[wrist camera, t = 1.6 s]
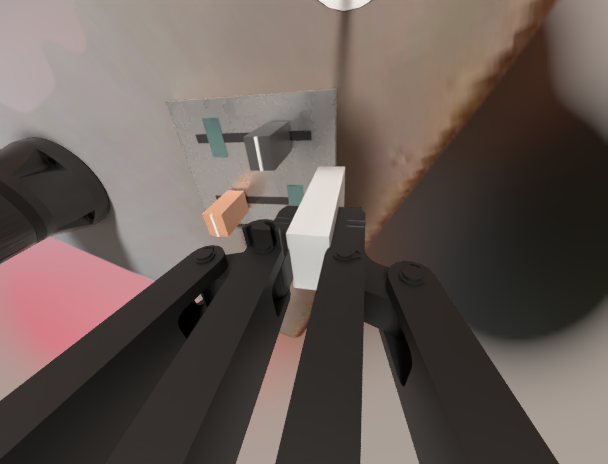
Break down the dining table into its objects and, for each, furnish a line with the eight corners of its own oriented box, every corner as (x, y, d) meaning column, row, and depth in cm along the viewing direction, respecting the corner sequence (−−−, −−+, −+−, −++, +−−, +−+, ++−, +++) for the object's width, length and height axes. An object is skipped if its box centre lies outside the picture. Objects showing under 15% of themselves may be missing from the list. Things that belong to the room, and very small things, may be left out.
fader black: (271, 151, 26) (249, 171, 22) (266, 122, 25) (242, 137, 20) (291, 150, 26) (274, 171, 21) (288, 121, 24) (268, 136, 19)
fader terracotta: (233, 210, 33) (209, 236, 28) (227, 190, 31) (201, 214, 26) (248, 210, 32) (227, 237, 27) (244, 190, 30) (220, 215, 25)
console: (216, 215, 37) (209, 222, 35) (177, 100, 28) (164, 102, 26) (336, 220, 33) (335, 229, 31) (337, 87, 24) (334, 89, 22)
